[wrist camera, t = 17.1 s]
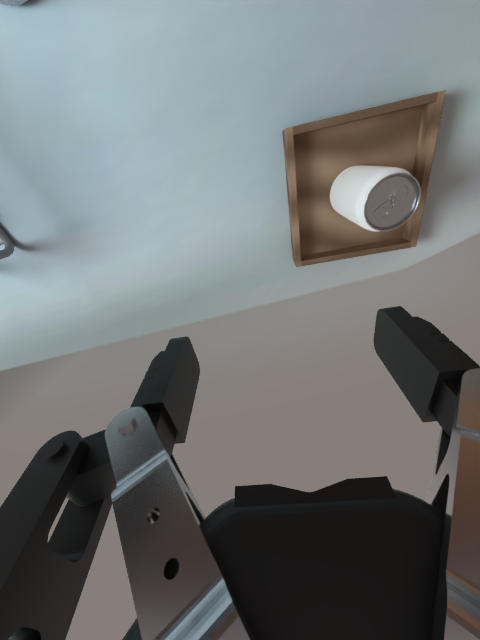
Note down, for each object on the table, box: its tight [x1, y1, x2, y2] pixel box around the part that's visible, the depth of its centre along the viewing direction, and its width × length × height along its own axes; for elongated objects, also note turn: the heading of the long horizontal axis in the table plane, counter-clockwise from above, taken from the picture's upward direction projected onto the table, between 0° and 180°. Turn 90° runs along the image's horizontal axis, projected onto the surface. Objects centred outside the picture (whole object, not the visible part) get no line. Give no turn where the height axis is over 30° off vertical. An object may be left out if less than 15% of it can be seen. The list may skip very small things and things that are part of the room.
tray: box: [283, 90, 446, 267], centre depth 35 cm, size 18×18×4 cm
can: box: [330, 165, 421, 231], centre depth 31 cm, size 6×6×12 cm
